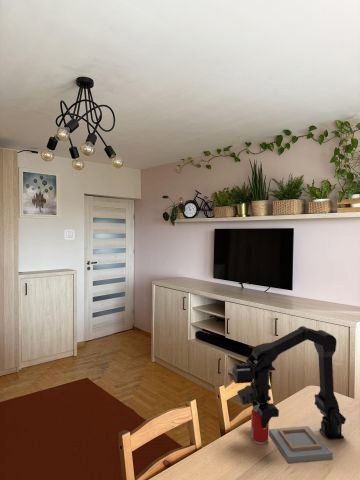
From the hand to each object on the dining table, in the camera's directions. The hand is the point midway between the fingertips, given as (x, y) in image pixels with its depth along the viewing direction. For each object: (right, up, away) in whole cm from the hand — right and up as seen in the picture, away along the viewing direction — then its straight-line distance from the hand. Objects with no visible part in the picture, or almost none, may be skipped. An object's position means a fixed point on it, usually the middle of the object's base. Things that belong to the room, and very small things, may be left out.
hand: (259, 422), depth 127 cm
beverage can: (0, -7, 0) cm, 7 cm away
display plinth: (+13, -7, -3) cm, 15 cm away
